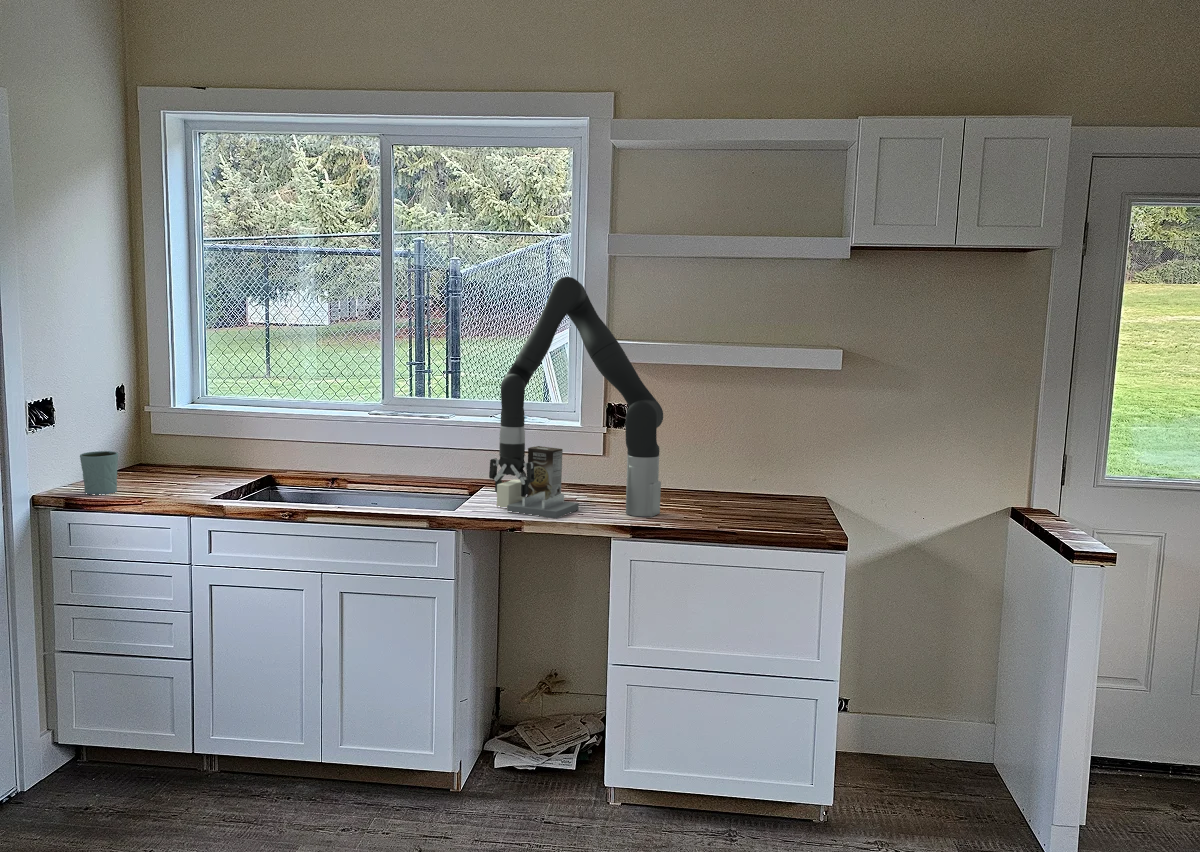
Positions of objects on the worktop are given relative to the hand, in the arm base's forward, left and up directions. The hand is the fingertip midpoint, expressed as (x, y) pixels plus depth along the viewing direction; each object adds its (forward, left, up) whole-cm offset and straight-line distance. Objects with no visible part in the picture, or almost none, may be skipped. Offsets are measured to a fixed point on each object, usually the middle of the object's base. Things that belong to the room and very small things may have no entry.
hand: (511, 494), depth 287 cm
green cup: (+113, +51, -3) cm, 124 cm away
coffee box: (-4, -13, -3) cm, 14 cm away
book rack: (-12, +2, -3) cm, 13 cm away
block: (0, 0, -3) cm, 3 cm away
